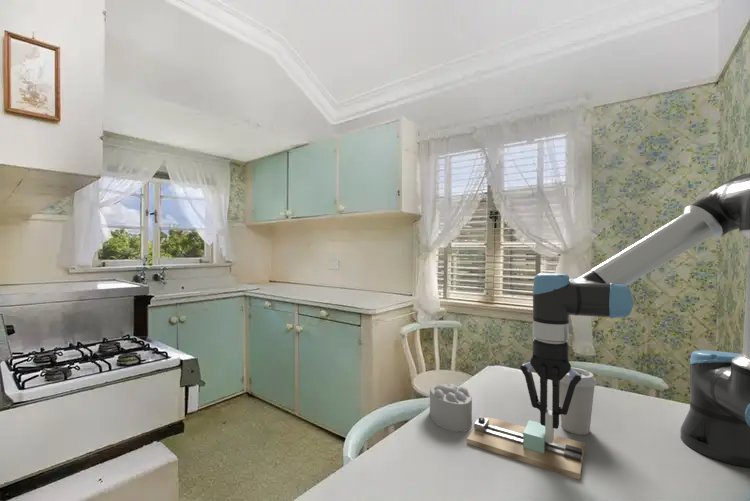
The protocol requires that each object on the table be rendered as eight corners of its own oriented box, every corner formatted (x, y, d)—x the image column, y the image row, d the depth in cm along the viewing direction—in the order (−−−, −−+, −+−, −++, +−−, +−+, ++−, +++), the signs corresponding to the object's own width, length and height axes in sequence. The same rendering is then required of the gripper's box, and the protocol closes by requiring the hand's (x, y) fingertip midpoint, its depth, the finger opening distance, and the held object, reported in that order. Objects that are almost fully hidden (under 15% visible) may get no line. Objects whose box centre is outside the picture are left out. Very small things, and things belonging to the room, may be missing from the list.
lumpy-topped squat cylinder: (458, 407, 105) (458, 378, 105) (481, 429, 92) (481, 396, 92) (425, 411, 102) (425, 381, 102) (444, 434, 90) (444, 400, 90)
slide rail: (581, 452, 80) (581, 441, 80) (580, 462, 76) (580, 451, 76) (479, 423, 93) (479, 414, 93) (474, 430, 89) (474, 421, 89)
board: (584, 447, 83) (584, 442, 83) (580, 479, 72) (580, 474, 72) (483, 420, 97) (483, 415, 97) (466, 443, 85) (466, 438, 85)
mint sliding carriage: (548, 439, 85) (548, 425, 85) (543, 453, 79) (543, 438, 79) (528, 434, 87) (528, 420, 87) (523, 447, 81) (523, 432, 81)
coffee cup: (603, 440, 87) (603, 380, 87) (561, 435, 89) (561, 377, 89) (587, 421, 96) (588, 367, 96) (550, 418, 98) (550, 365, 98)
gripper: (583, 340, 81) (582, 441, 81) (523, 332, 88) (523, 425, 88) (581, 347, 74) (580, 457, 75) (517, 338, 82) (516, 438, 82)
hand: (549, 439), depth 81 cm, fingers closed
